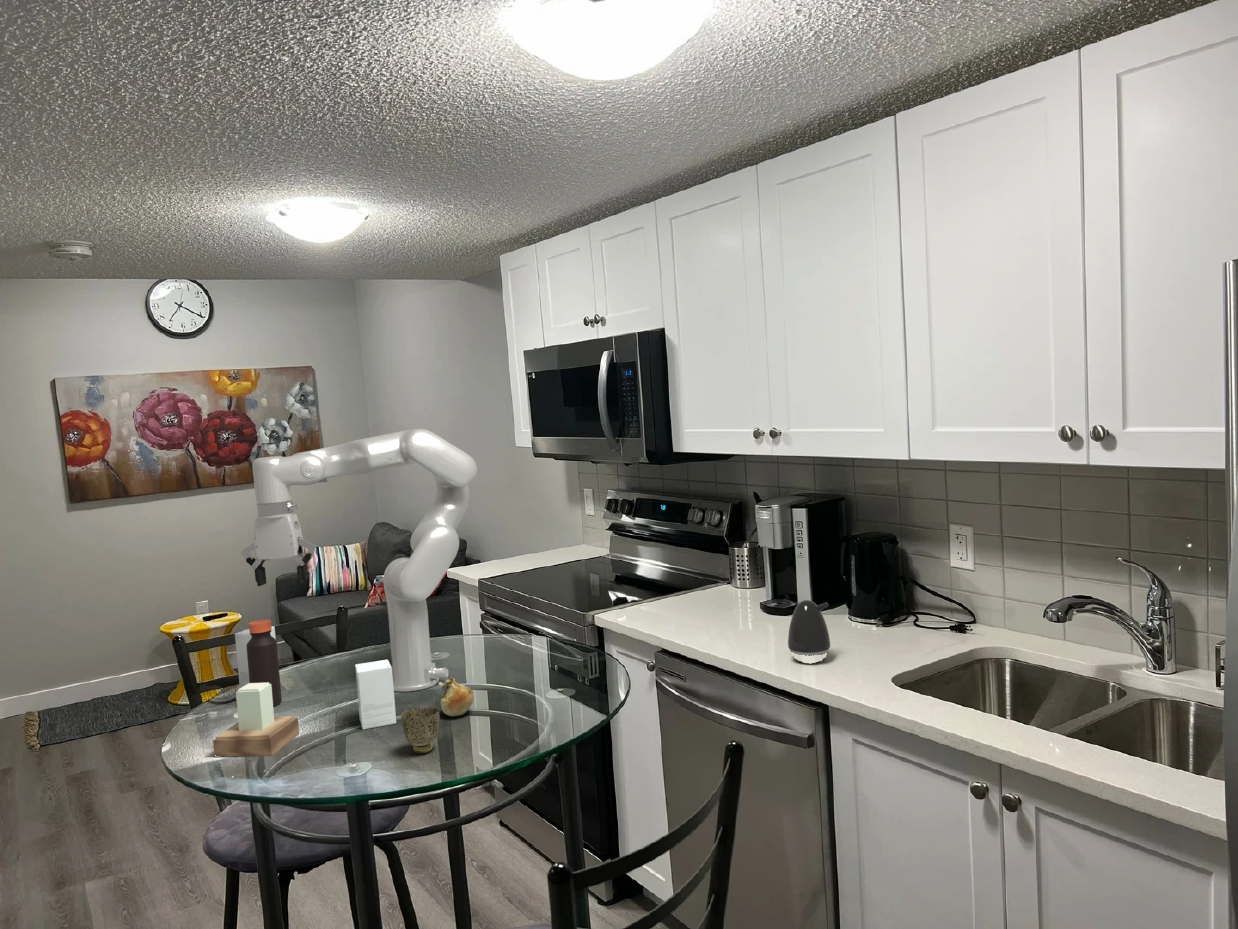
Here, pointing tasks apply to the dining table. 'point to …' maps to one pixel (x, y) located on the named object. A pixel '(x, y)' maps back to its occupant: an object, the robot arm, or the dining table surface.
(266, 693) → the sage block
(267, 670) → the bottle
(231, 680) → the dining table surface
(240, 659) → the skincare box
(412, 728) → the cup
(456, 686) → the onion
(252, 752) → the base block
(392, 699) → the supplement box
